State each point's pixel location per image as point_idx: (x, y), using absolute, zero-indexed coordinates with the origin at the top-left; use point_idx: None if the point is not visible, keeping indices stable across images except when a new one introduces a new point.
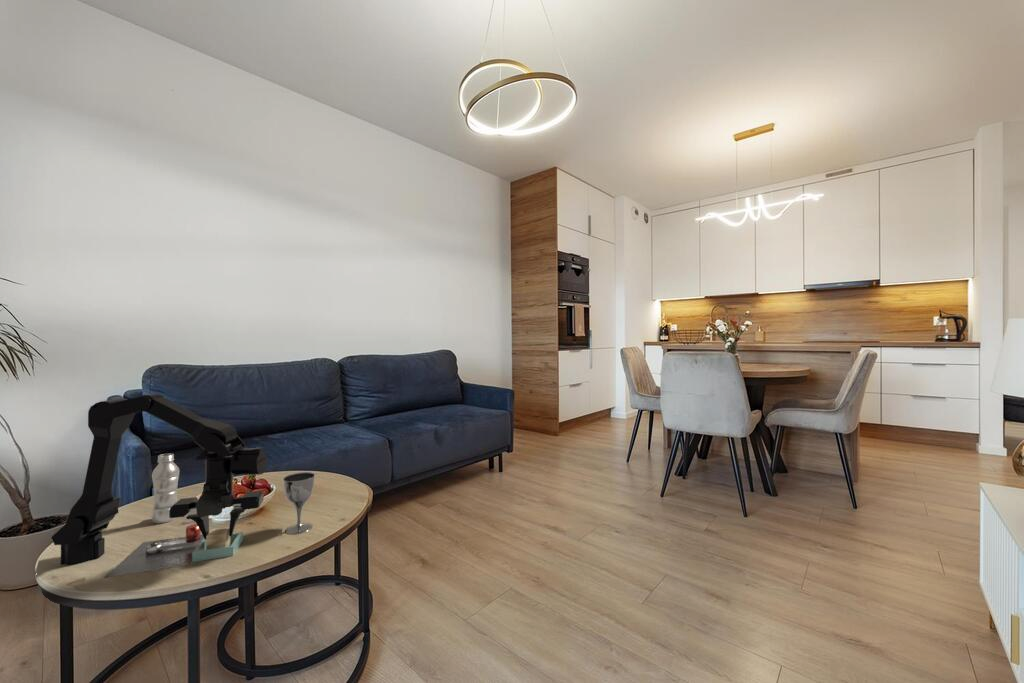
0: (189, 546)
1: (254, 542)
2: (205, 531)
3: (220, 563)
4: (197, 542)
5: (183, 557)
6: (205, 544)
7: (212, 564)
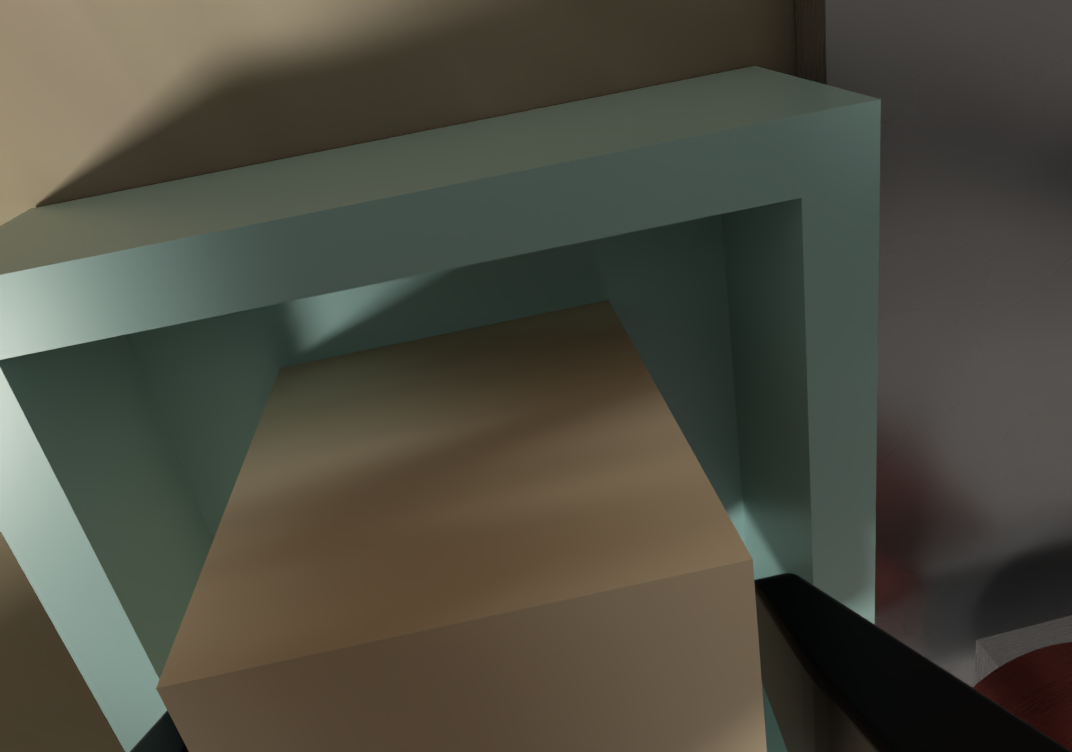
0: None
1: (68, 736)
2: (881, 741)
3: (185, 40)
4: None
5: (1006, 278)
6: None
7: (342, 22)
